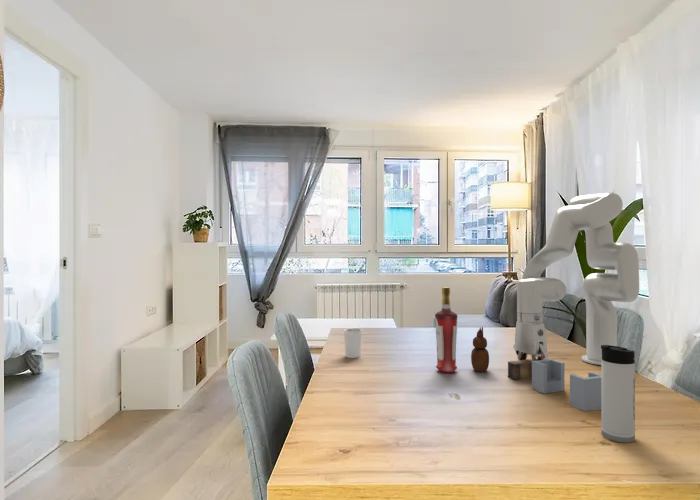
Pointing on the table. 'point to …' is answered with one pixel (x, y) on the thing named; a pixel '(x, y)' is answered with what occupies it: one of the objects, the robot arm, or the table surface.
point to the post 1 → (548, 376)
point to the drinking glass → (352, 342)
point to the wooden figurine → (480, 353)
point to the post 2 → (586, 391)
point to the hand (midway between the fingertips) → (529, 374)
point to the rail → (520, 369)
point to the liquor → (446, 335)
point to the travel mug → (618, 393)
